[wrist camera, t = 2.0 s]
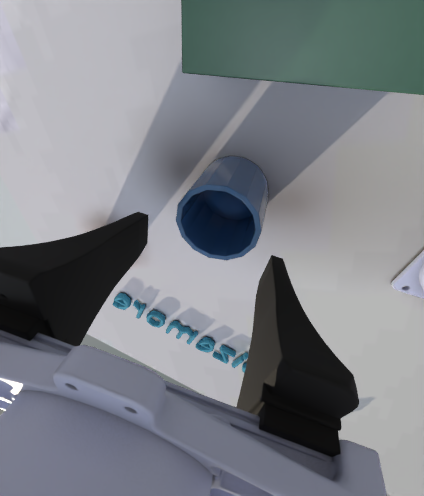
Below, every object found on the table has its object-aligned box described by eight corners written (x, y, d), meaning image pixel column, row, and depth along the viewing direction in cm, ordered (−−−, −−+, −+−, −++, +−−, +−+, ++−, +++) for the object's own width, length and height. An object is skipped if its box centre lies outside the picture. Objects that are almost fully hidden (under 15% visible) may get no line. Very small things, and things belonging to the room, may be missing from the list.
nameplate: (332, 416, 37) (358, 409, 34) (332, 422, 37) (359, 415, 34) (113, 304, 35) (119, 284, 32) (110, 308, 34) (116, 289, 31)
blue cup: (279, 167, 18) (274, 200, 14) (255, 228, 22) (245, 270, 17) (207, 146, 18) (181, 172, 14) (196, 209, 22) (172, 245, 18)
